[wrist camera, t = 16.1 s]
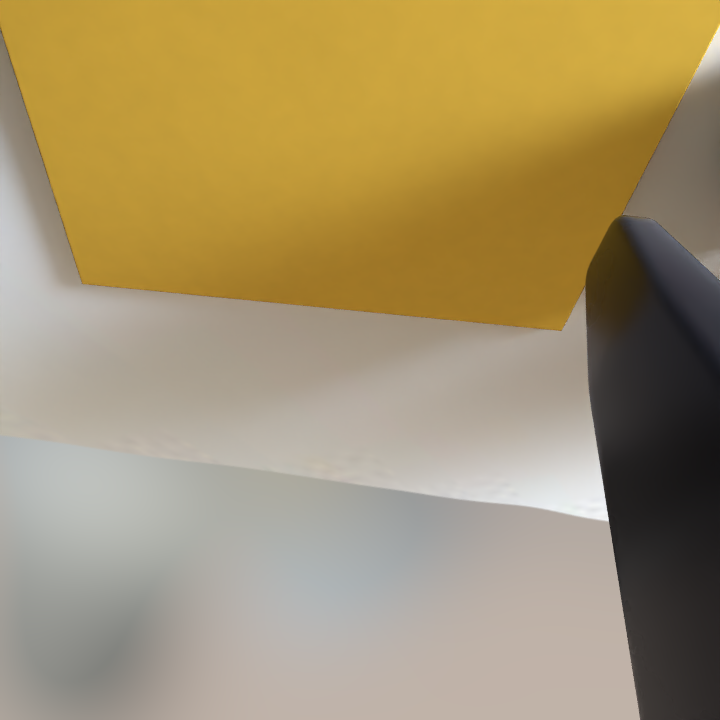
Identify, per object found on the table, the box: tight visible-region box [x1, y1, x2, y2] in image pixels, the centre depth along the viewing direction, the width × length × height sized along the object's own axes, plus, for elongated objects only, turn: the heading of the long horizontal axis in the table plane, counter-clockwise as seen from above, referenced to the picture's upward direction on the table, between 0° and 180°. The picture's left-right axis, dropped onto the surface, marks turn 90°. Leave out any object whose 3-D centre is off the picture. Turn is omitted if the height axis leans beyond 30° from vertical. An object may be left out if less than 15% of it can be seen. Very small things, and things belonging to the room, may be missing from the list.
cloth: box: [0, 0, 720, 331], centre depth 21 cm, size 19×15×1 cm
